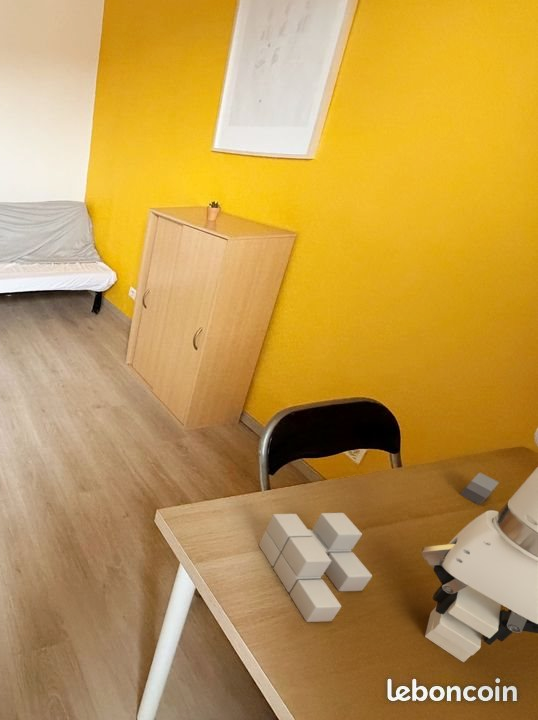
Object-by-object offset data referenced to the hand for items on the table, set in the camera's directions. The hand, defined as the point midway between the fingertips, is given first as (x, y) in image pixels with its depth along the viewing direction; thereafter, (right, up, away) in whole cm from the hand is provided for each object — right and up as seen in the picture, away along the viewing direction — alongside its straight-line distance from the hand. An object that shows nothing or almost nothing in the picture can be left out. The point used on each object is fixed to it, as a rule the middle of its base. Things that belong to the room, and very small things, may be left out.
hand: (463, 619), depth 57 cm
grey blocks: (+29, +7, +24) cm, 39 cm away
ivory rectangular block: (0, -4, +2) cm, 4 cm away
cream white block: (0, +2, -1) cm, 2 cm away
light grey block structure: (-14, 0, +9) cm, 16 cm away
